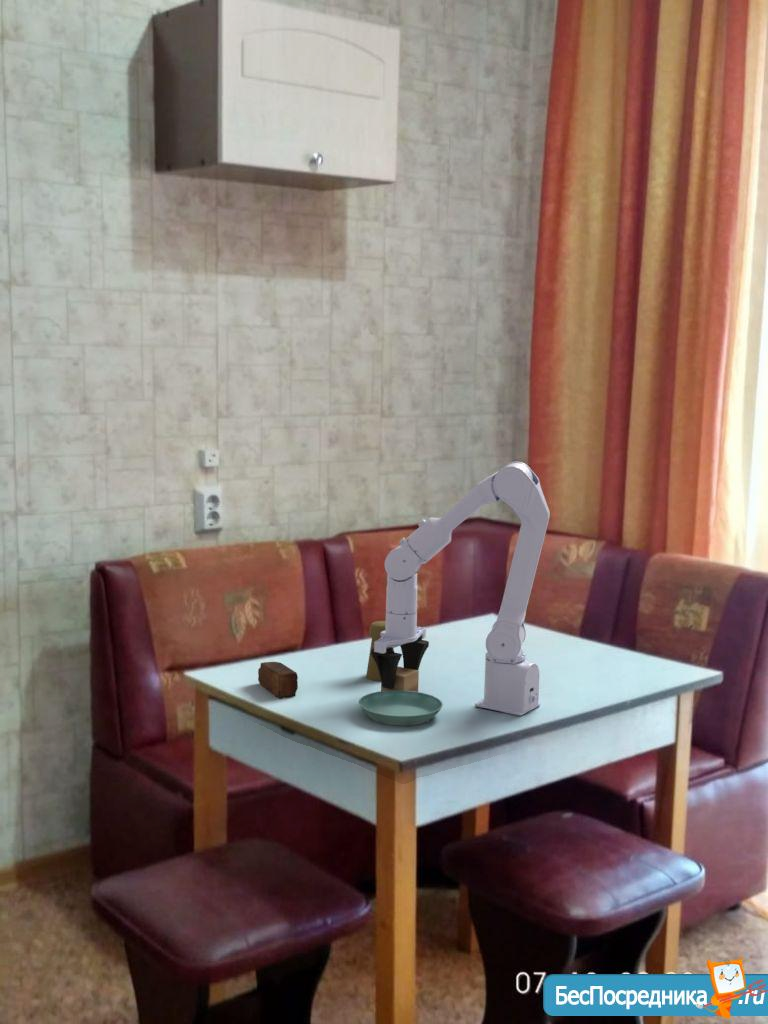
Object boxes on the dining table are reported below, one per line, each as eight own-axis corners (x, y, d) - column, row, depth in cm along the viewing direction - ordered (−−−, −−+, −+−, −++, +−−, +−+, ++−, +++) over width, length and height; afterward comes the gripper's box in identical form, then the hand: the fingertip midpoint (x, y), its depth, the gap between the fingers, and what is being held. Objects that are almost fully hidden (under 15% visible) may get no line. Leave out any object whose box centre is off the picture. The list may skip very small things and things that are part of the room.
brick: (298, 697, 218) (298, 672, 217) (278, 699, 216) (278, 674, 216) (277, 682, 228) (277, 658, 227) (257, 684, 226) (257, 660, 225)
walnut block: (418, 696, 220) (418, 670, 219) (403, 703, 216) (404, 676, 215) (395, 692, 222) (396, 666, 222) (380, 698, 218) (381, 672, 218)
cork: (360, 678, 231) (361, 623, 229) (375, 670, 236) (376, 617, 234) (387, 682, 228) (389, 627, 226) (402, 675, 233) (403, 620, 232)
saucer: (350, 726, 202) (351, 711, 202) (367, 701, 217) (367, 687, 216) (436, 733, 200) (436, 718, 200) (447, 707, 214) (447, 693, 214)
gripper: (404, 601, 225) (402, 670, 227) (360, 615, 213) (359, 688, 215) (436, 606, 221) (433, 677, 223) (393, 620, 209) (391, 695, 211)
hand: (399, 683), depth 219 cm, fingers open, 7 cm apart
